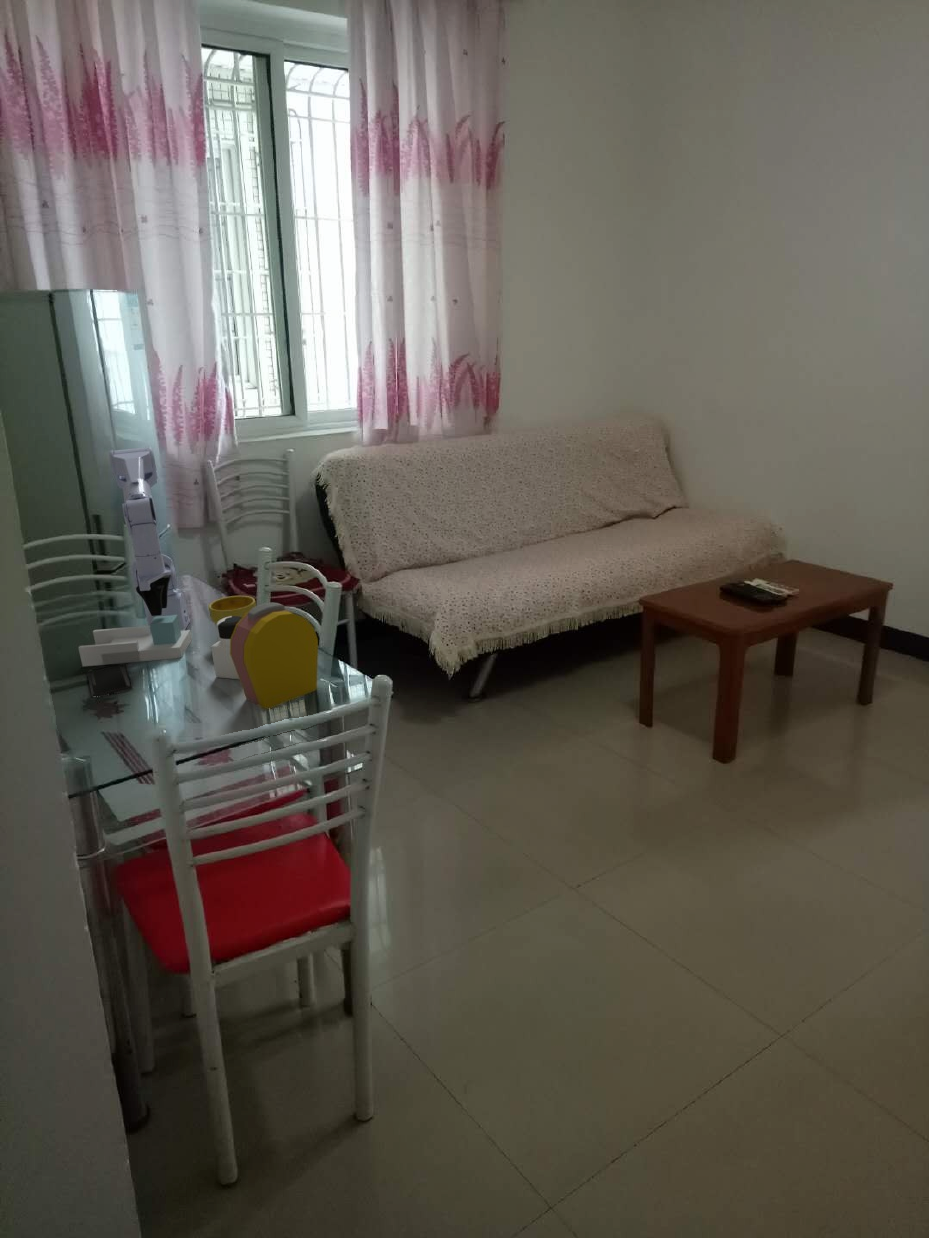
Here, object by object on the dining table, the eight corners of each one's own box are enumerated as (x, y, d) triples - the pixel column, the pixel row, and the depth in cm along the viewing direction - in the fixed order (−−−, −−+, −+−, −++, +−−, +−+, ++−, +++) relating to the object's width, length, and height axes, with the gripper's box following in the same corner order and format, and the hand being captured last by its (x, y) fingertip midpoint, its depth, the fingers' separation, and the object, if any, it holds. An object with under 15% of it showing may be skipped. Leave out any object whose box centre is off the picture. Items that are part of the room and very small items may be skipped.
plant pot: (263, 646, 192) (256, 605, 188) (216, 654, 189) (209, 613, 185) (259, 631, 201) (253, 592, 197) (214, 638, 198) (207, 599, 195)
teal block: (181, 635, 194) (177, 614, 193) (176, 643, 190) (172, 622, 188) (159, 637, 194) (155, 616, 192) (153, 645, 189) (149, 624, 188)
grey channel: (191, 639, 198) (188, 621, 197) (181, 657, 188) (178, 638, 186) (98, 648, 197) (94, 630, 195) (82, 666, 186) (78, 647, 185)
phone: (124, 662, 185) (132, 686, 173) (125, 667, 186) (133, 691, 173) (86, 670, 182) (91, 695, 169) (87, 675, 183) (92, 700, 170)
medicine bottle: (263, 666, 180) (255, 614, 176) (244, 680, 174) (235, 626, 170) (234, 664, 182) (226, 612, 178) (215, 677, 176) (206, 624, 172)
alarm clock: (301, 676, 174) (289, 592, 168) (323, 686, 169) (312, 600, 162) (236, 700, 165) (221, 612, 159) (258, 712, 159) (243, 621, 153)
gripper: (158, 560, 178) (170, 620, 183) (174, 543, 192) (184, 599, 197) (124, 563, 178) (136, 623, 183) (142, 545, 191) (153, 602, 196)
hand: (159, 611), depth 190 cm, fingers open, 4 cm apart
